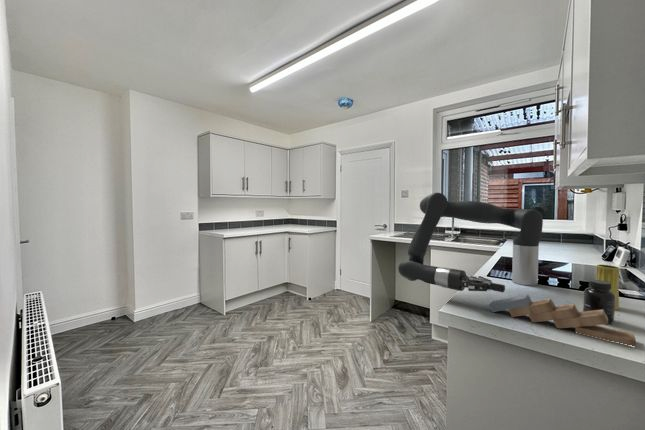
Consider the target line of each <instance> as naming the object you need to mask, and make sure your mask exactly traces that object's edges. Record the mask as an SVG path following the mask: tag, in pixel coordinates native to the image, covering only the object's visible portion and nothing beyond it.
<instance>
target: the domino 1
mask: <svg viewBox="0 0 645 430" xmlns="http://www.w3.org/2000/svg"><path fill="white" fill-rule="evenodd" d="M532 302H533V300H532V299H531V297H530V295H529V294H527V293H526V294H524V295H523V294H522V295H518V296H513V297H508V298H502V299H501V298H500V299H497V300H493V301H491V302H490V303H489V304H488V307H489V310H490V312H491V313H495V312H502V311H509V309H515V308H521V307H527V306H529V305H530V304H531V303H532Z"/></svg>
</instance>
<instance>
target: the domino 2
mask: <svg viewBox="0 0 645 430" xmlns="http://www.w3.org/2000/svg"><path fill="white" fill-rule="evenodd" d="M555 306H556V305H555V303H554V301H553V300H552V298H546V299H539V300H532V303H531V304H530V305H529V306H527V307H521V308H515V309H509V310H508V312H509V314H510V316H511V318H514V317H515V318H516V317H522V316H529V314H536V313H542V312H549V311H553V310H554V308H555Z"/></svg>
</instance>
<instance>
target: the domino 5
mask: <svg viewBox="0 0 645 430" xmlns="http://www.w3.org/2000/svg"><path fill="white" fill-rule="evenodd" d="M574 332H577V333H581V334H585V335H589V336H593V337H597V338H601V339H605V340H609V341H614V342H619V343H623V344H627V345H632V346H635V347H637V346H636V345H637V341H636V337H635V334H634V333H631V332H627V331H622V330H619V329H613V328H610V327H606V326H602V325H593V326H581V327H575V331H574ZM577 333H576V334H577ZM581 334H580V335H581ZM585 335H584V336H585ZM589 336H588V337H589ZM593 337H592V338H593ZM597 338H596V339H597ZM601 339H600V340H601ZM605 340H604V341H605ZM609 341H608V342H609Z"/></svg>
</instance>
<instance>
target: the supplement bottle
mask: <svg viewBox="0 0 645 430" xmlns="http://www.w3.org/2000/svg"><path fill="white" fill-rule="evenodd" d="M611 289H612V288H611V283H610V282H606V281H602V280H596V279H589V281H588V287H586V288H585V289H584V291H583V303H582V304H583V305H582V306H583V307H582V310H583V311H582V312H585V311H593V310H602V309H603V310H604V312H605V314H606V315H607V317H608V324H607V325H610V324H611V325H612V324H613V323H615V312H616V310H615V299H616V296H615V294H614V293H613V292H611V291H610V290H611Z"/></svg>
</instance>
